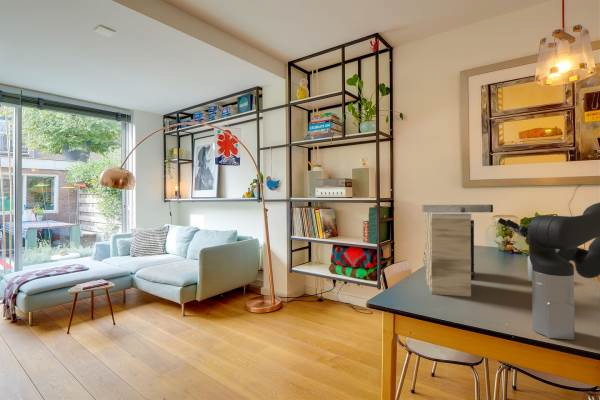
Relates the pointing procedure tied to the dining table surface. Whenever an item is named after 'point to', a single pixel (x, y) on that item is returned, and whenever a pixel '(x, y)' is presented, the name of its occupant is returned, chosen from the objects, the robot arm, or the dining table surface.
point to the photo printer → (529, 269)
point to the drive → (457, 208)
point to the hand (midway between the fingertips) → (502, 220)
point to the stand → (448, 252)
